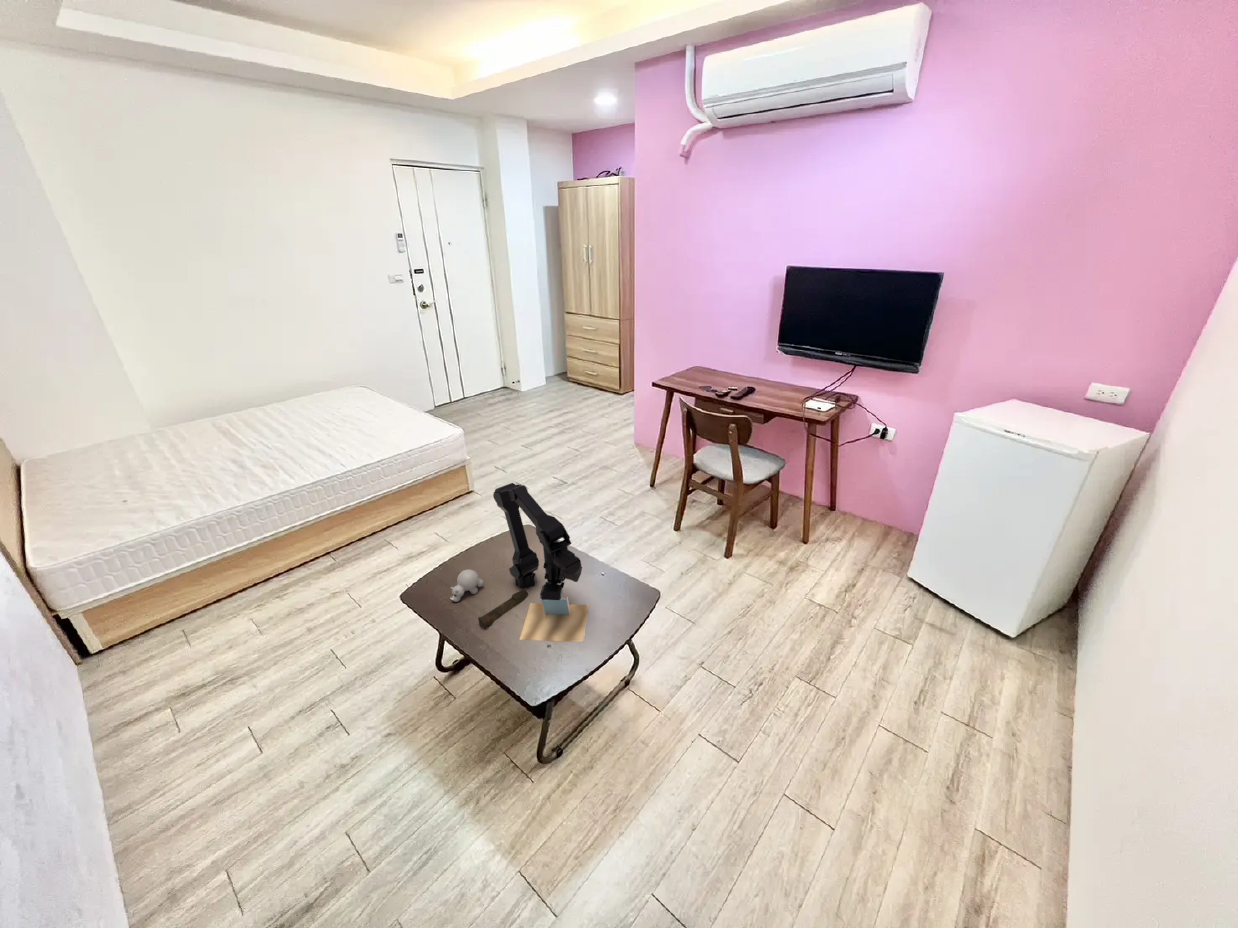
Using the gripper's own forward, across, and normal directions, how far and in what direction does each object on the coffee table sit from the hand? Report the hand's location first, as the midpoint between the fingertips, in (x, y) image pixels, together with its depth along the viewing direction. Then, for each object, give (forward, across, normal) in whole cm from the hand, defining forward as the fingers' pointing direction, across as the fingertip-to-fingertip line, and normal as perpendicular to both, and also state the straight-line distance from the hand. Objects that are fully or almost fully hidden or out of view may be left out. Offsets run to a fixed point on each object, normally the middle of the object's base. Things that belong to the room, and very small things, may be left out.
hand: (556, 597), depth 154 cm
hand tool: (+8, +1, +18) cm, 20 cm away
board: (+8, -4, 0) cm, 9 cm away
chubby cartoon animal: (+8, +9, +34) cm, 36 cm away
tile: (+6, 0, 0) cm, 6 cm away
